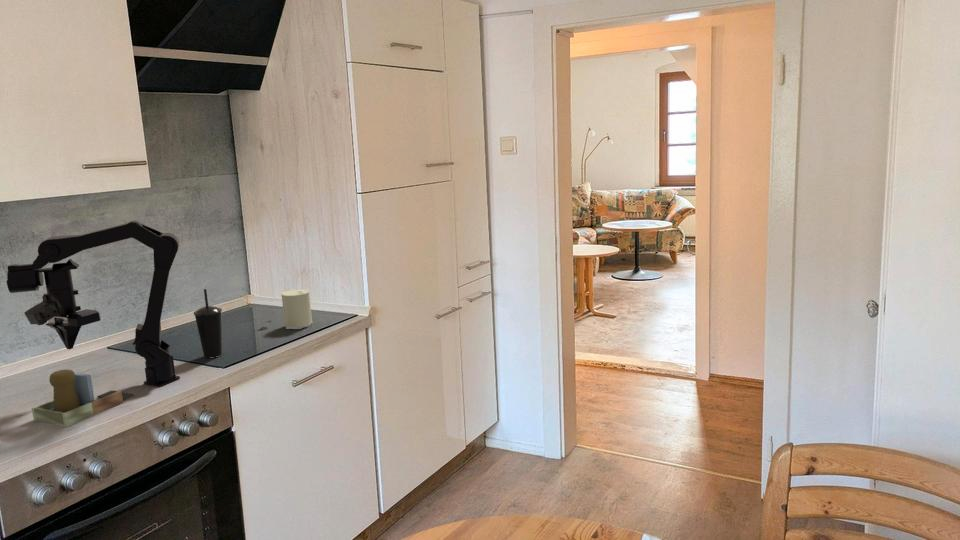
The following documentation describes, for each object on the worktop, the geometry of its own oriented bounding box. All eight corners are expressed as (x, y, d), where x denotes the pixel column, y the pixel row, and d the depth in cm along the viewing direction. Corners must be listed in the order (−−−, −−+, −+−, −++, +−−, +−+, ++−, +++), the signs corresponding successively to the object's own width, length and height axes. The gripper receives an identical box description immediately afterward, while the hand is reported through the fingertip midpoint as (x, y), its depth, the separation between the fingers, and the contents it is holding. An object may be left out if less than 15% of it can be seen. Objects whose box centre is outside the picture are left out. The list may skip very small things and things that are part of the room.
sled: (72, 406, 169) (66, 371, 167) (96, 411, 165) (90, 374, 163) (44, 417, 162) (38, 381, 161) (68, 422, 159) (62, 385, 157)
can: (298, 331, 227) (294, 295, 224) (278, 328, 231) (274, 292, 229) (318, 323, 234) (315, 289, 232) (298, 321, 239) (295, 286, 237)
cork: (88, 410, 166) (81, 366, 164) (75, 420, 160) (67, 374, 158) (62, 411, 166) (55, 367, 164) (48, 421, 160) (40, 376, 158)
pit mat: (111, 391, 178) (111, 390, 178) (134, 395, 175) (133, 393, 175) (97, 397, 174) (97, 395, 174) (120, 401, 171) (119, 399, 171)
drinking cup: (227, 357, 202) (219, 290, 198) (199, 361, 199) (190, 293, 195) (226, 350, 209) (218, 285, 205) (199, 354, 206) (190, 288, 202)
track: (91, 397, 175) (89, 386, 174) (123, 402, 170) (121, 391, 169) (33, 420, 162) (31, 407, 161) (66, 426, 157) (64, 414, 156)
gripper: (2, 293, 169) (13, 355, 172) (53, 297, 161) (64, 362, 164) (47, 283, 179) (56, 342, 182) (97, 287, 171) (106, 348, 174)
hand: (69, 348), depth 175 cm, fingers closed
